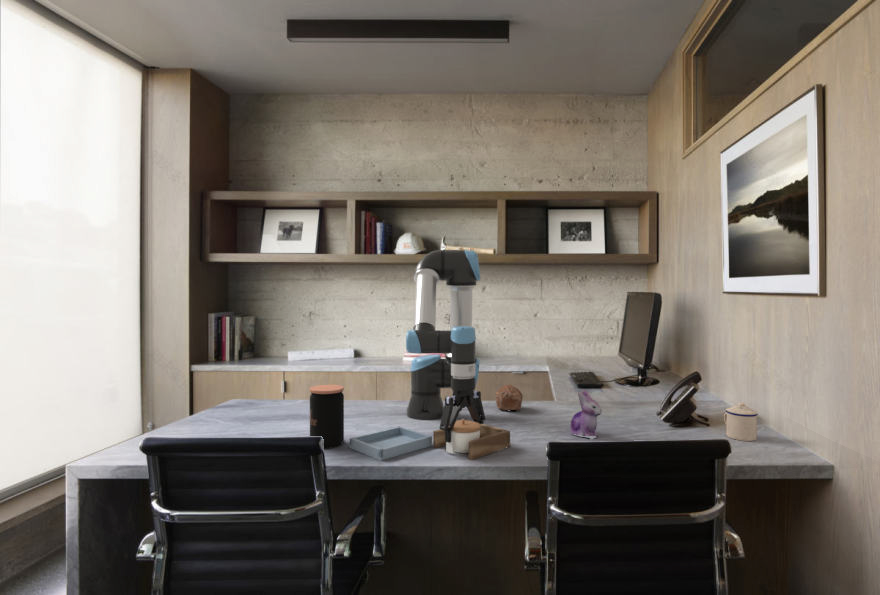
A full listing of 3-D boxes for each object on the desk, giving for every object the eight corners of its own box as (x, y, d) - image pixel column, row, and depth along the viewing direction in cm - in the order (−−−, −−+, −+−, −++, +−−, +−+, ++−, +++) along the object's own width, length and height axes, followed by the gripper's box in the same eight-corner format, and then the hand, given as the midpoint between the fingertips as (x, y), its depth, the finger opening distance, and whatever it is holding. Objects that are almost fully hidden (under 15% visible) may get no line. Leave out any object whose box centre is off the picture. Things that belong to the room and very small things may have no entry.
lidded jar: (454, 457, 146) (454, 425, 146) (440, 446, 156) (440, 417, 156) (486, 452, 151) (487, 421, 150) (470, 442, 160) (470, 413, 160)
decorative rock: (495, 405, 213) (495, 382, 213) (522, 406, 212) (522, 382, 211) (494, 412, 200) (495, 388, 200) (523, 413, 199) (523, 388, 198)
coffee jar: (312, 439, 164) (312, 384, 164) (345, 438, 165) (345, 384, 165) (306, 449, 153) (306, 391, 153) (341, 448, 154) (341, 390, 154)
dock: (433, 447, 156) (433, 431, 156) (471, 435, 168) (471, 421, 168) (472, 459, 144) (472, 442, 144) (510, 446, 156) (510, 431, 156)
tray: (349, 447, 155) (349, 438, 155) (399, 435, 169) (399, 426, 169) (380, 460, 143) (380, 450, 143) (431, 445, 157) (431, 436, 157)
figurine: (601, 440, 163) (601, 395, 163) (569, 437, 167) (569, 392, 166) (602, 433, 172) (602, 389, 172) (572, 430, 175) (572, 387, 175)
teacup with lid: (764, 440, 163) (764, 405, 163) (739, 442, 161) (740, 406, 161) (736, 430, 175) (736, 397, 175) (713, 432, 173) (713, 398, 173)
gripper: (445, 383, 142) (445, 460, 143) (496, 373, 158) (496, 442, 159) (427, 380, 148) (427, 454, 148) (479, 371, 164) (479, 437, 164)
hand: (463, 448), depth 153 cm, fingers closed on lidded jar, 11 cm apart
